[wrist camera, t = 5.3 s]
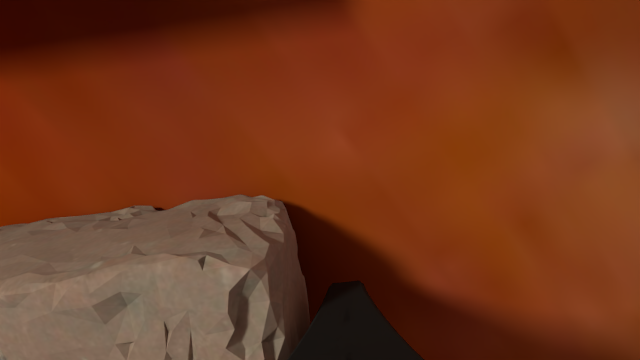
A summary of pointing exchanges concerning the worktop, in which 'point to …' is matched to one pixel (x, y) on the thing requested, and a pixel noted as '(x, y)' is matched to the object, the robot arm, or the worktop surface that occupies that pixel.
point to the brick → (154, 284)
